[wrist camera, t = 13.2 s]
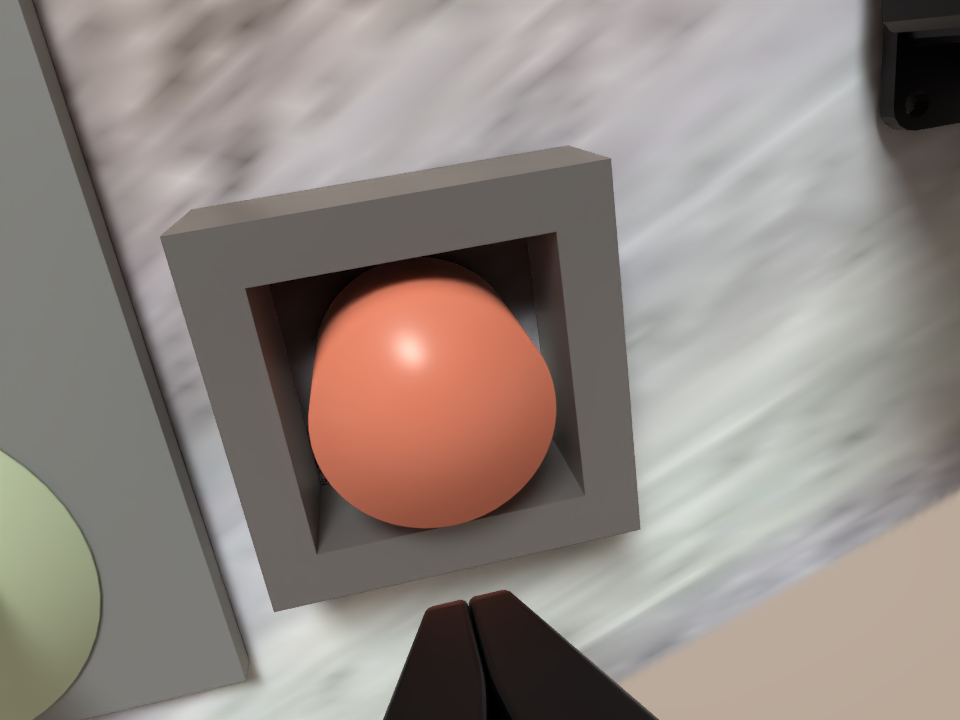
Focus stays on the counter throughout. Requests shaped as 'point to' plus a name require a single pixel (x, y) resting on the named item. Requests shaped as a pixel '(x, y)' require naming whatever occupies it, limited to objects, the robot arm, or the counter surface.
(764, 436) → the counter surface
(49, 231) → the picture board
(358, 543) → the button housing
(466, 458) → the button
